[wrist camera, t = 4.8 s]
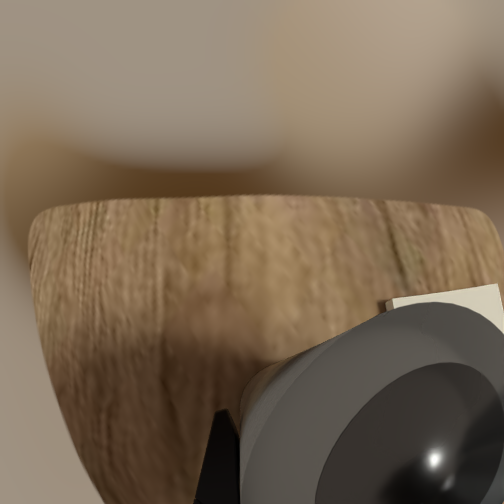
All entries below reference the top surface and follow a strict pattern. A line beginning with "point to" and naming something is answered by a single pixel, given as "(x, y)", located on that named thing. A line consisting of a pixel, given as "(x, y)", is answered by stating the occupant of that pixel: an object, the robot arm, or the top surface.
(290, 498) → the steel sleeve
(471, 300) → the ceramic tile
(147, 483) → the top surface
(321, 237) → the top surface
